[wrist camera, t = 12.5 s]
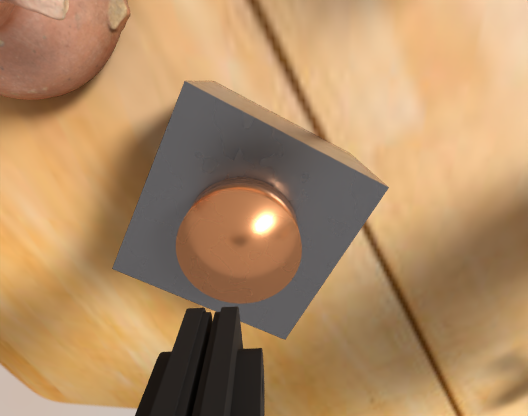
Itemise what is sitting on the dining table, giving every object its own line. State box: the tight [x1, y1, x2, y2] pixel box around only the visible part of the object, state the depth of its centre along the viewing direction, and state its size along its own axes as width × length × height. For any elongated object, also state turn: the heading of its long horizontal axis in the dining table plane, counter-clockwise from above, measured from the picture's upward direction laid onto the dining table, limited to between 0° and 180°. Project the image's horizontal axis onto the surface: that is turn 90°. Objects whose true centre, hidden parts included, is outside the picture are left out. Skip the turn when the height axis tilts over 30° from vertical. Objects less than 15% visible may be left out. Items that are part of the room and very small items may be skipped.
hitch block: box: [112, 81, 389, 339], centre depth 23 cm, size 12×12×9 cm
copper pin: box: [176, 177, 302, 304], centre depth 21 cm, size 6×6×10 cm
